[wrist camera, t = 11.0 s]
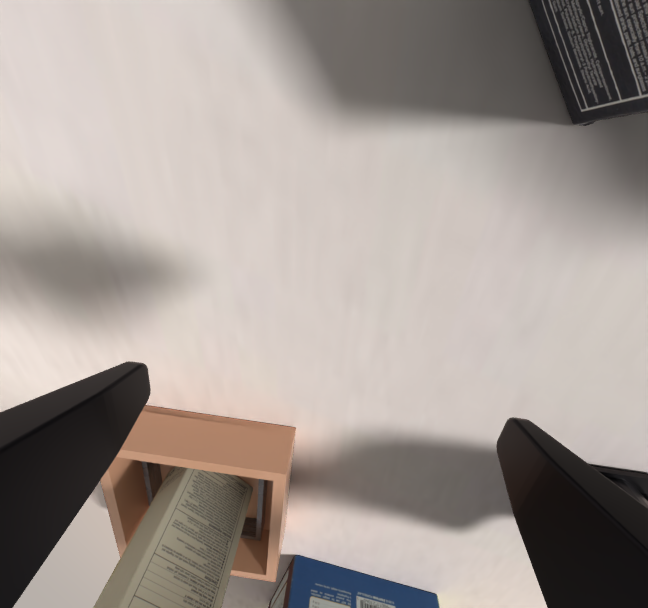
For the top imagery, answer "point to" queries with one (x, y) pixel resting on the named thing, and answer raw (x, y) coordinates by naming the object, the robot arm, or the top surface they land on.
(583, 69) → the small box
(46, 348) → the top surface
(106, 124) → the top surface
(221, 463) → the wooden cubby frame
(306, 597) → the protein box
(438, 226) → the top surface
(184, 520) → the skincare box
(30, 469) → the robot arm
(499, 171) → the top surface
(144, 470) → the thin grey square frame
